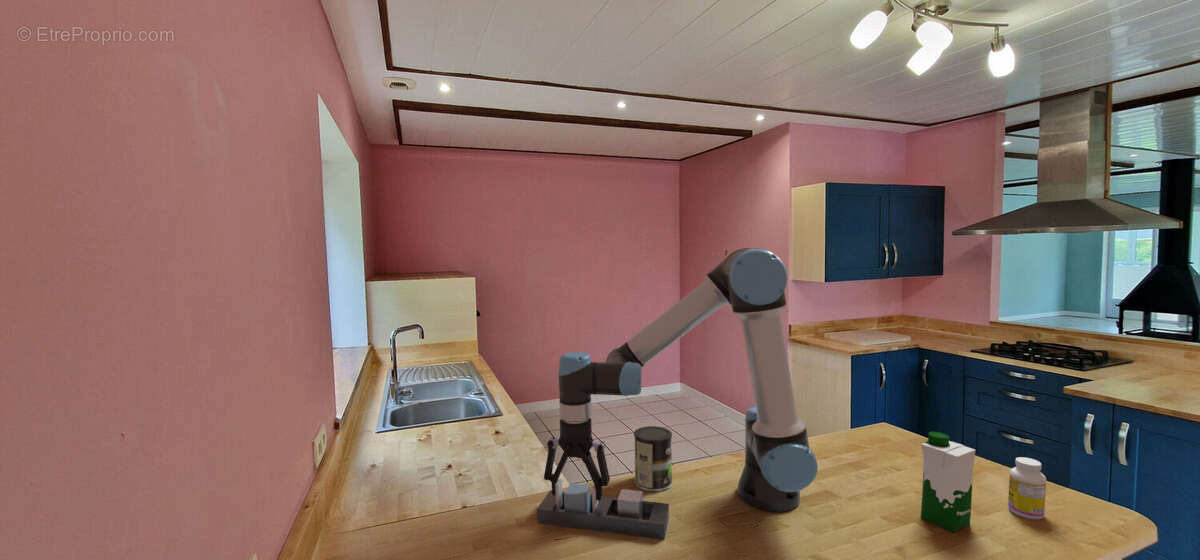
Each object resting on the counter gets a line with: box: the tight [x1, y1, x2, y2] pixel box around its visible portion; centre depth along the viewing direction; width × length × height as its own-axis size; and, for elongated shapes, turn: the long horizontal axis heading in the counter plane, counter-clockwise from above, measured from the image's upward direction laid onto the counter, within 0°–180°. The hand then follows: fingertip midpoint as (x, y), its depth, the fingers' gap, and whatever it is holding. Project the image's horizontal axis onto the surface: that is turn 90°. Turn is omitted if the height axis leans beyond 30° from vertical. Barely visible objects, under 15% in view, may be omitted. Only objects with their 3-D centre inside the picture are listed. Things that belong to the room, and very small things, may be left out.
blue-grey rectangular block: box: [563, 483, 591, 513], centre depth 119 cm, size 5×5×7 cm
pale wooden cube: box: [617, 488, 644, 520], centre depth 116 cm, size 5×5×7 cm
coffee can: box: [633, 425, 673, 493], centre depth 135 cm, size 10×10×14 cm
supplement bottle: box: [1007, 456, 1047, 520], centre depth 118 cm, size 7×7×13 cm
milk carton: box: [920, 431, 976, 533], centre depth 115 cm, size 9×9×20 cm
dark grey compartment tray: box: [536, 489, 670, 541], centre depth 117 cm, size 30×9×4 cm, turn 76°
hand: (577, 509), depth 119 cm, fingers open, 8 cm apart
